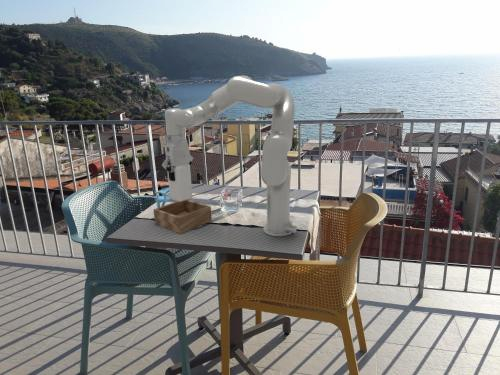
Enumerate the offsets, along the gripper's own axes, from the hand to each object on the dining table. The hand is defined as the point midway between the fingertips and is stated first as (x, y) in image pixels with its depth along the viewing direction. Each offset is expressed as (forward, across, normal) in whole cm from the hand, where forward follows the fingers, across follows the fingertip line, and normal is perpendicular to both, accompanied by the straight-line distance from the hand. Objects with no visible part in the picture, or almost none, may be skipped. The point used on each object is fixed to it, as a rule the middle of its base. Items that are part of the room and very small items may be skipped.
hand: (179, 178), depth 167 cm
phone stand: (+21, +4, +18) cm, 28 cm away
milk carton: (+10, 0, 0) cm, 10 cm away
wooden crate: (+21, 0, 0) cm, 21 cm away
